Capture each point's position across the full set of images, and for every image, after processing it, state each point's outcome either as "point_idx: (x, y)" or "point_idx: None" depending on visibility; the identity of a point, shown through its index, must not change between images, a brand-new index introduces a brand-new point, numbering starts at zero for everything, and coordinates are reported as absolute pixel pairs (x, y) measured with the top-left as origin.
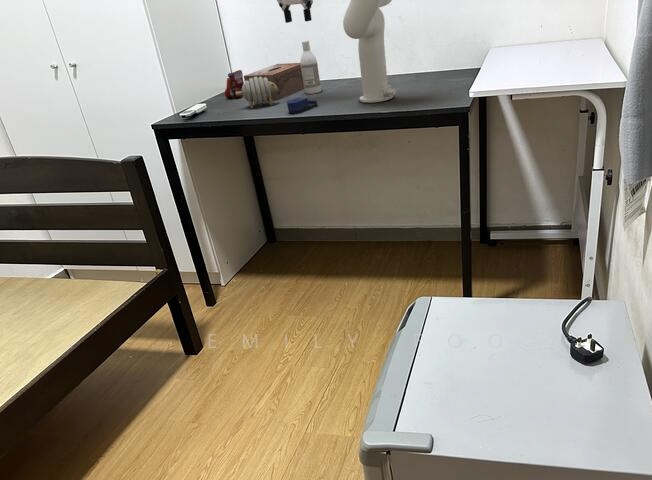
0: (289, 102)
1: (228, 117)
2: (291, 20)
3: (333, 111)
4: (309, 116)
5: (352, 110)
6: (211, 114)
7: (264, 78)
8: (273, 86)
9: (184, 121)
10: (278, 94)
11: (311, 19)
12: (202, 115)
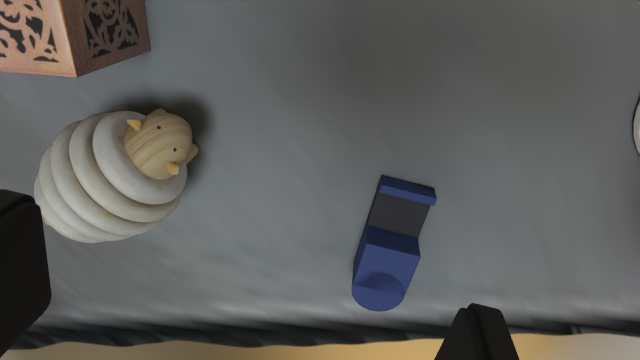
0: (368, 304)
1: (142, 285)
2: (30, 221)
3: (536, 273)
4: None
5: (617, 271)
6: None
7: (123, 191)
8: (178, 163)
9: None
10: (136, 31)
11: (500, 312)
12: None
